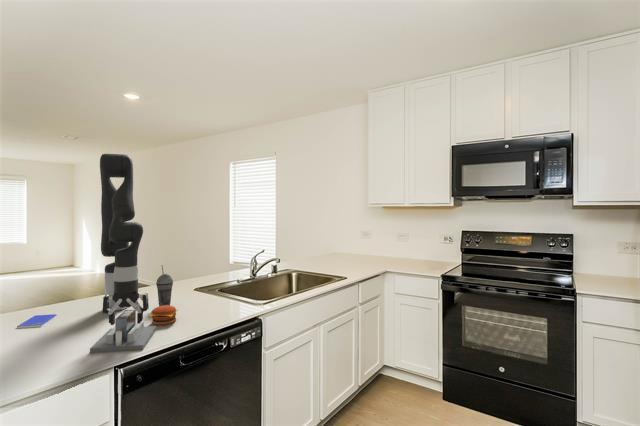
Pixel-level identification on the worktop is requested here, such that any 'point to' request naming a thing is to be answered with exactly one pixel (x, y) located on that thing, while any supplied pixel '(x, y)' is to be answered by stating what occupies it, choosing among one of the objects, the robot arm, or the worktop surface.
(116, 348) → the dock
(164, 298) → the beverage cup
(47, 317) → the hard drive
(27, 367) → the worktop surface
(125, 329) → the block
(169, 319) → the hamburger
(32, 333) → the worktop surface
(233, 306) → the worktop surface
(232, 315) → the worktop surface
